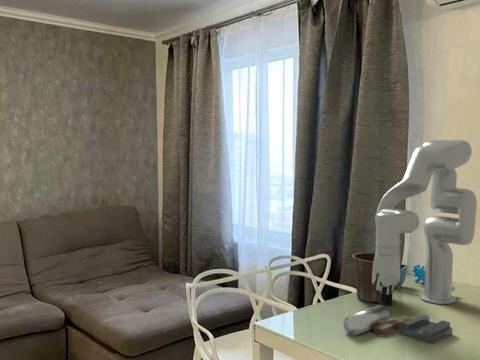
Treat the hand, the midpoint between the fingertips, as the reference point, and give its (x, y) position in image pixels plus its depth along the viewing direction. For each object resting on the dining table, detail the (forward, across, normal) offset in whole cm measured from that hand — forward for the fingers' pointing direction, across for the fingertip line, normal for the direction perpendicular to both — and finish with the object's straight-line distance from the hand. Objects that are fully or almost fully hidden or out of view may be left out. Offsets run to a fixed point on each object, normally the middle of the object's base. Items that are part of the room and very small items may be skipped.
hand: (386, 305), depth 165 cm
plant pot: (+6, -18, -17) cm, 25 cm away
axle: (+5, +11, 0) cm, 12 cm away
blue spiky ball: (+7, -52, -16) cm, 55 cm away
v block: (+5, 0, +14) cm, 15 cm away
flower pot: (+7, -38, -21) cm, 44 cm away
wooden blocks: (+5, +4, 0) cm, 7 cm away
